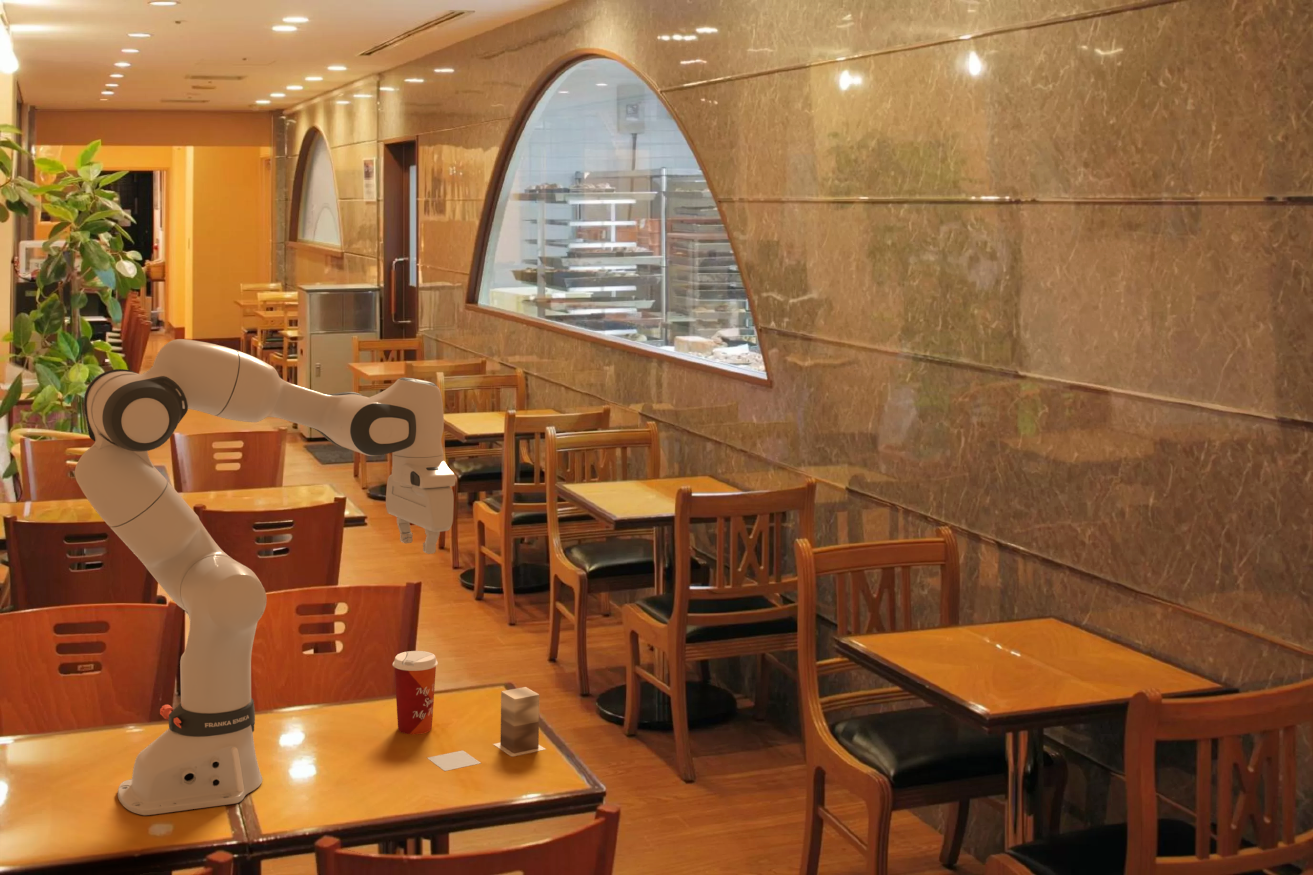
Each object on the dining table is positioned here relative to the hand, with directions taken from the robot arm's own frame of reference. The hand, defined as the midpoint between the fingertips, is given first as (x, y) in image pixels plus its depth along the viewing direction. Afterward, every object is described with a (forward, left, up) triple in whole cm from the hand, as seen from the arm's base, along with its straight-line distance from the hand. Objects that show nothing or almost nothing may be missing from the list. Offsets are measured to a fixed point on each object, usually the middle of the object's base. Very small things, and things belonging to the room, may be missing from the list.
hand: (417, 547), depth 237 cm
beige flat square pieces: (+9, -11, -37) cm, 40 cm away
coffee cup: (+3, +7, -37) cm, 38 cm away
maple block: (+15, -11, -31) cm, 36 cm away
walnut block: (+15, -11, -36) cm, 40 cm away
